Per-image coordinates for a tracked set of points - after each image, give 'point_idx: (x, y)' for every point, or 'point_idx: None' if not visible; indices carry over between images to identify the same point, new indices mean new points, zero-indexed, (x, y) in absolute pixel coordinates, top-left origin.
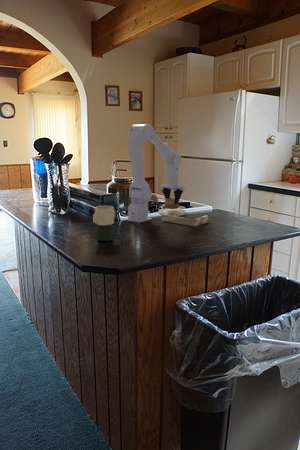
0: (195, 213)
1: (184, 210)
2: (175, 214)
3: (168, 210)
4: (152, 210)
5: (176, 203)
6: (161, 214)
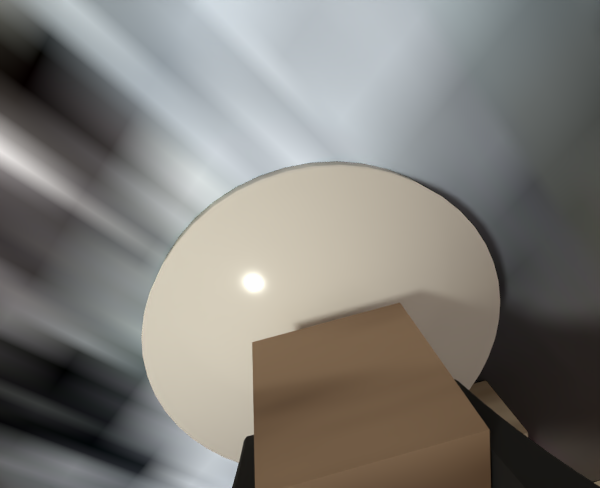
0: (545, 86)
1: (418, 192)
2: None
3: None
4: (33, 412)
5: None
6: None
